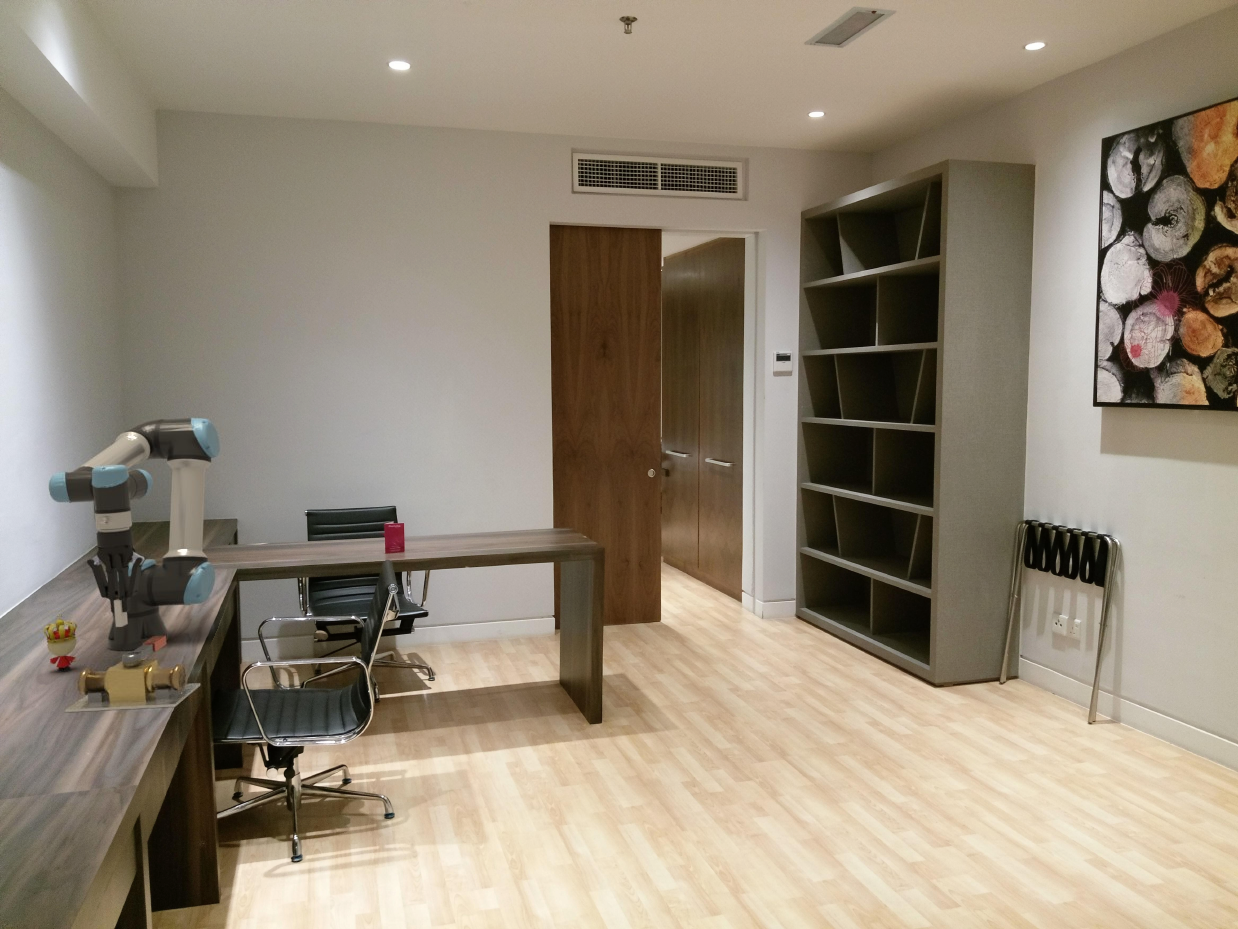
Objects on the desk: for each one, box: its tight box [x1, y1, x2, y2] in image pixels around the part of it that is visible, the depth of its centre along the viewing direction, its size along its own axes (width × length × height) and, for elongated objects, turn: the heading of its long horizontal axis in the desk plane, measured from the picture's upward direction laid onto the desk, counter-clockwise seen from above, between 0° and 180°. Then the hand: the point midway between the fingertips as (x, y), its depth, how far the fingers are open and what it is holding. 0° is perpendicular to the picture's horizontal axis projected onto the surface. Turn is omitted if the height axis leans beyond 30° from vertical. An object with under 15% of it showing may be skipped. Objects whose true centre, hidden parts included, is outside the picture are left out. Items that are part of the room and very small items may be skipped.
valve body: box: [64, 659, 201, 713], centre depth 205 cm, size 24×14×8 cm, turn 94°
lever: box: [121, 636, 167, 667], centre depth 210 cm, size 16×4×2 cm, turn 4°
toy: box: [43, 613, 78, 673], centre depth 226 cm, size 7×7×15 cm
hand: (121, 625), depth 214 cm, fingers closed
